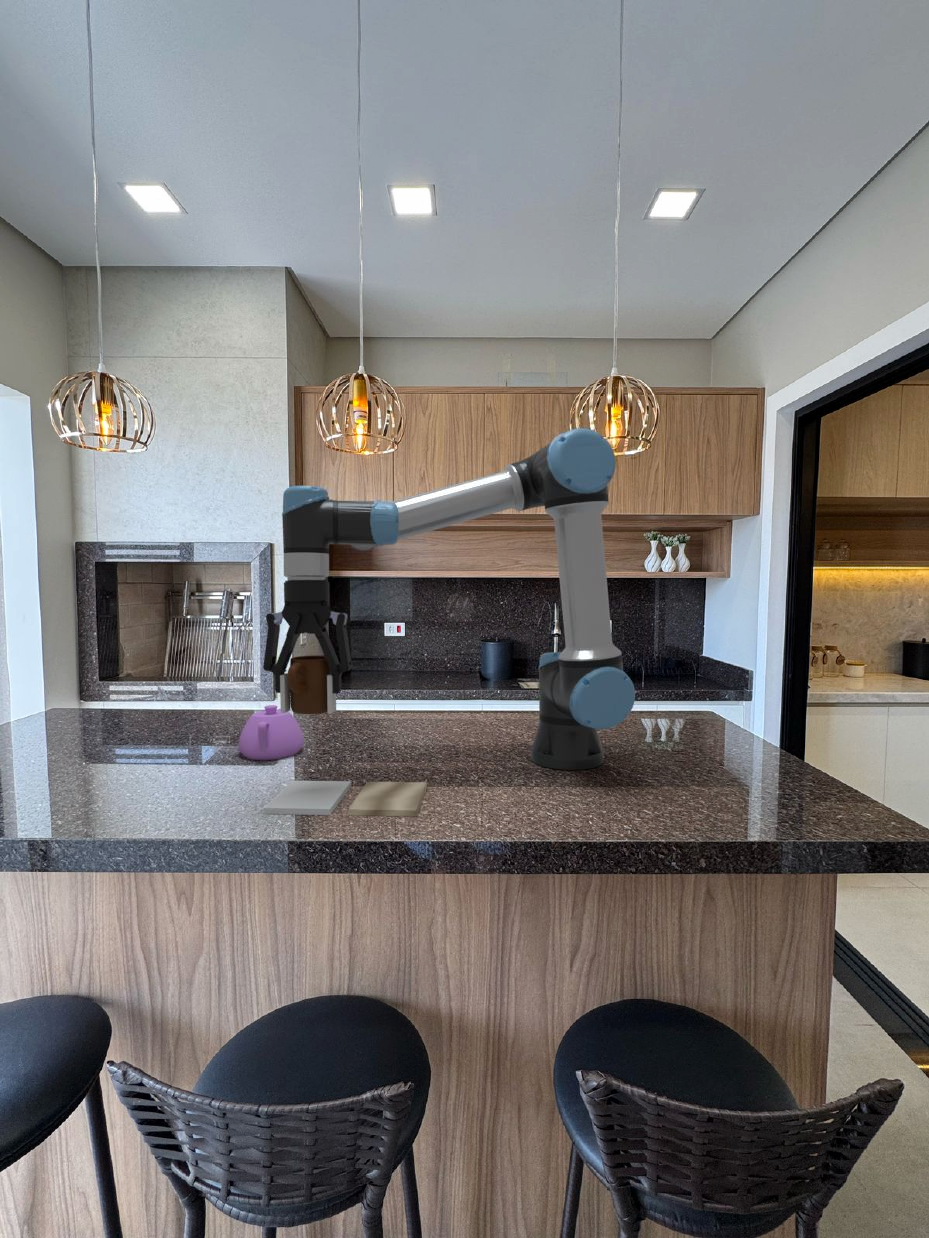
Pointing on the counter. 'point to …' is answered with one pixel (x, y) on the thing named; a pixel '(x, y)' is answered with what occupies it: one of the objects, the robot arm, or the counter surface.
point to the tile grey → (308, 798)
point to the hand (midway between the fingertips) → (308, 711)
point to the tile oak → (389, 799)
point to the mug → (308, 684)
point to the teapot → (270, 735)
